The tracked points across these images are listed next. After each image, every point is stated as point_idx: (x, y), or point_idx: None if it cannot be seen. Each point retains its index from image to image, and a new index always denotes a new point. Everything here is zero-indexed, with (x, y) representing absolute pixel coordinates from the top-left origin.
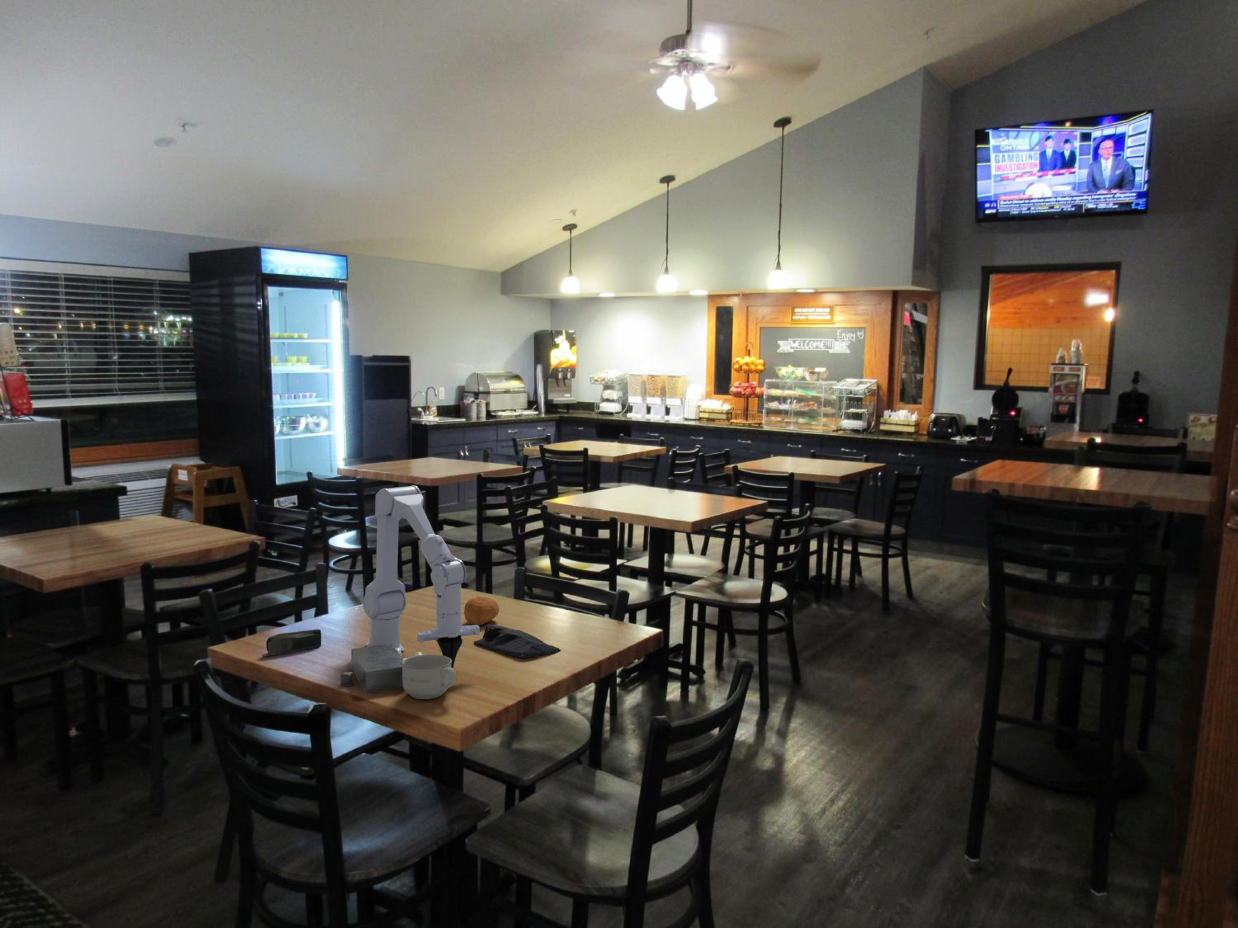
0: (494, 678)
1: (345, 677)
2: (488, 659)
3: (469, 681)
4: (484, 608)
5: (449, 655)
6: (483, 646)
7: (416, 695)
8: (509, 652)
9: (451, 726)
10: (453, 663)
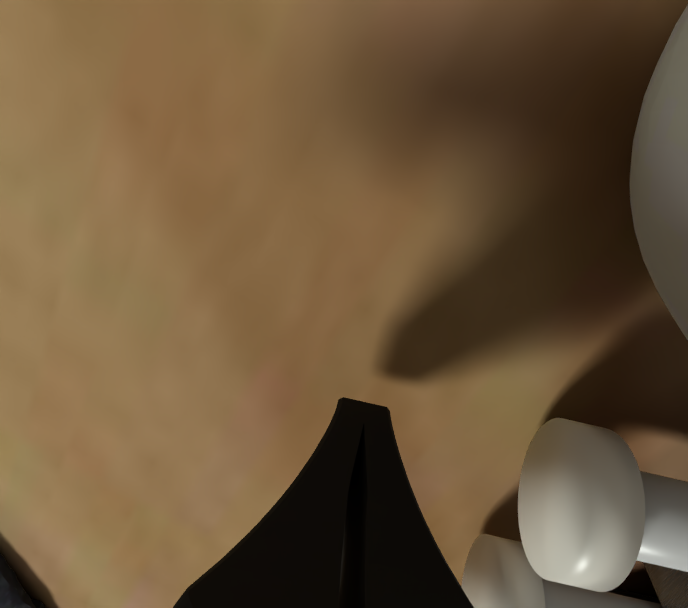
0: (57, 85)
1: None
2: (23, 444)
3: (296, 165)
4: None
5: (379, 502)
6: (14, 576)
7: None
8: None
9: None
10: (338, 422)
